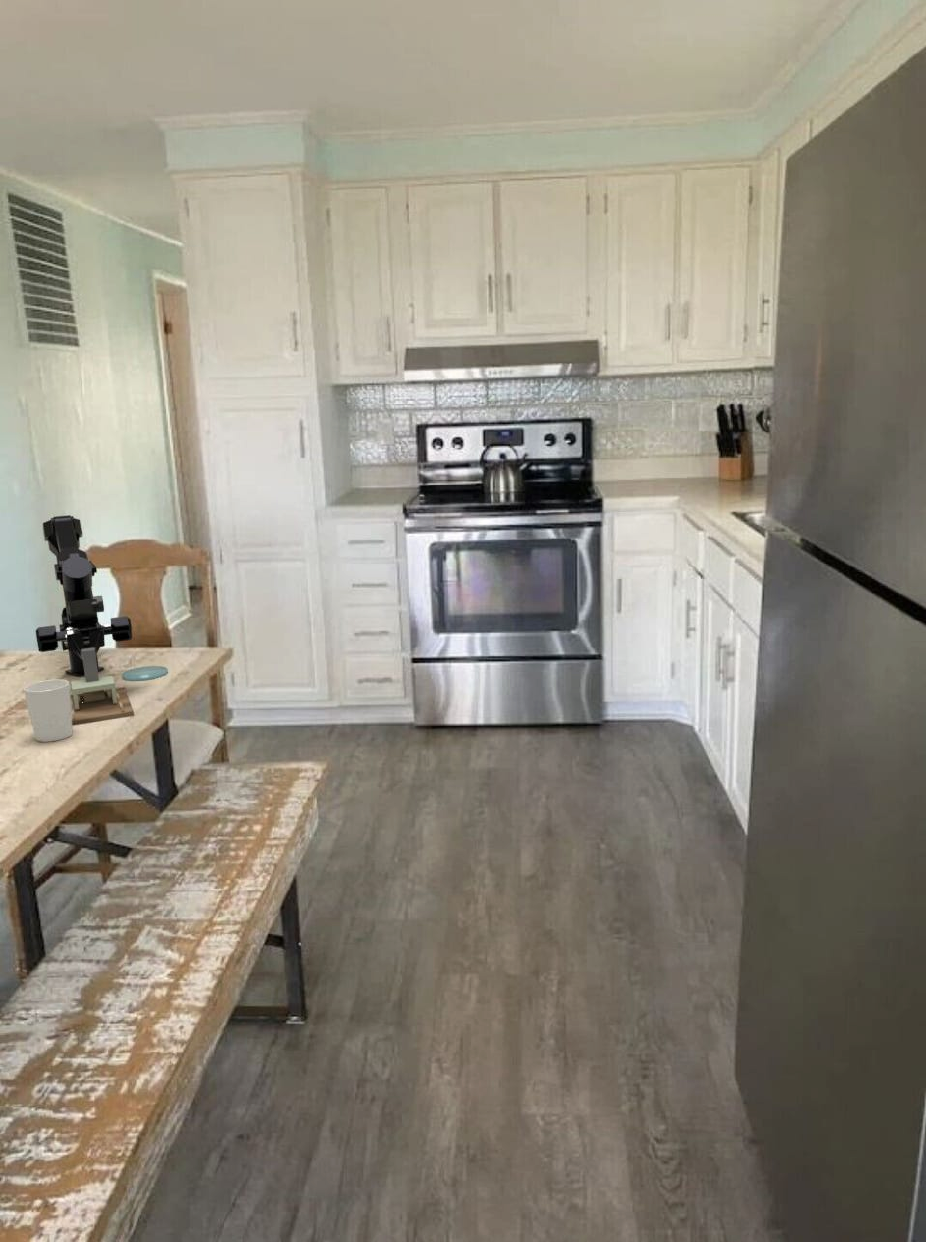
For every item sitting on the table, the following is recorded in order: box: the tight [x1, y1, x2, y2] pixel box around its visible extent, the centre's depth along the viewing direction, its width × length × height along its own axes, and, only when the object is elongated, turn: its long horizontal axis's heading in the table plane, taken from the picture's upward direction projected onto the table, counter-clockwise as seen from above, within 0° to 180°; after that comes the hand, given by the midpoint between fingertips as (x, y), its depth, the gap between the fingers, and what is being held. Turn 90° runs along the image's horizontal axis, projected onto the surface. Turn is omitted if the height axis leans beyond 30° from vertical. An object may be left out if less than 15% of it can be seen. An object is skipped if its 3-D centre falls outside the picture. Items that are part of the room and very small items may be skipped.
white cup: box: [23, 678, 74, 743], centre depth 185 cm, size 8×8×10 cm
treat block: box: [82, 690, 105, 702], centre depth 206 cm, size 4×4×4 cm
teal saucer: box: [121, 665, 169, 682], centre depth 225 cm, size 10×10×1 cm
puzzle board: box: [71, 686, 135, 726], centre depth 201 cm, size 19×13×1 cm
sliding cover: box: [70, 647, 117, 710], centre depth 200 cm, size 6×8×11 cm
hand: (90, 667), depth 203 cm, fingers closed, pressing on sliding cover
